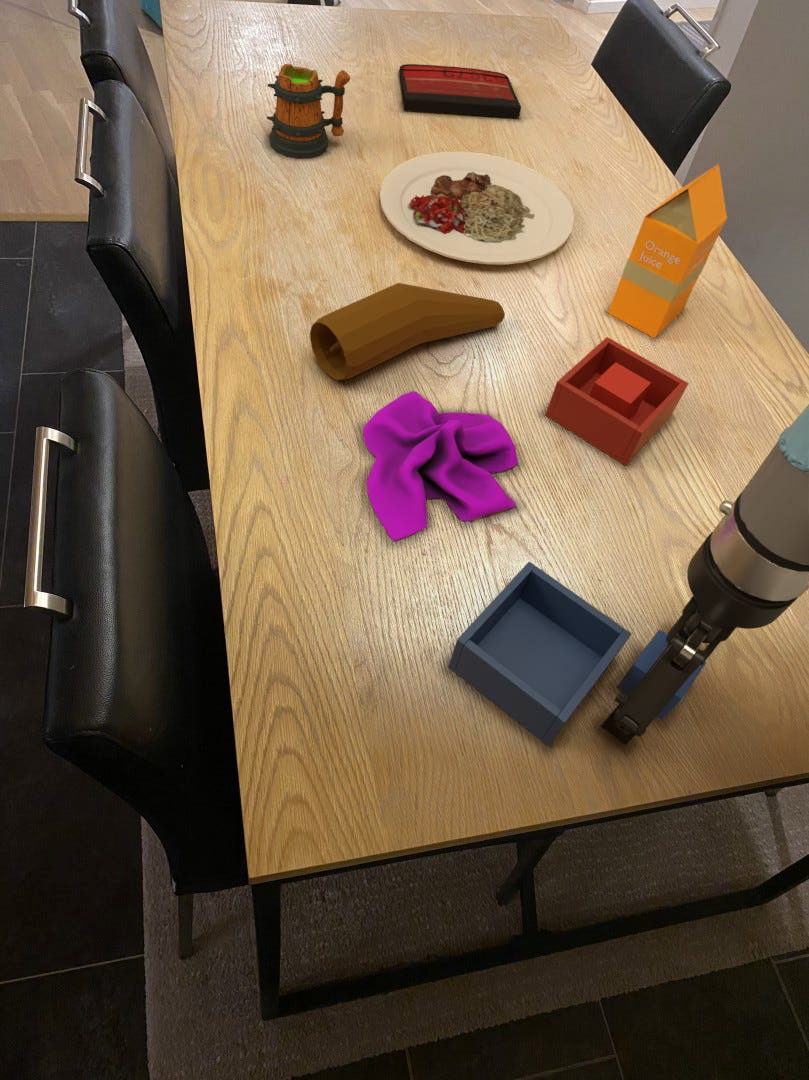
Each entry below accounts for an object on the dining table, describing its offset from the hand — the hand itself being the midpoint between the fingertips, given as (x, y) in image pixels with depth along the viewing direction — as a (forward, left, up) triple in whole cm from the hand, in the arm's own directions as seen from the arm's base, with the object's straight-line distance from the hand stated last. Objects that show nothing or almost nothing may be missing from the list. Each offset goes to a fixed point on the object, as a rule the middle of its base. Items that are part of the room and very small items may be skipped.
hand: (649, 683), depth 73 cm
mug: (+91, -47, 0) cm, 102 cm away
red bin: (+22, -29, 0) cm, 36 cm away
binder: (+86, -81, 0) cm, 118 cm away
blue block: (0, 0, 0) cm, 0 cm away
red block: (+22, -29, 0) cm, 36 cm away
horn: (+48, -21, 0) cm, 52 cm away
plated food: (+60, -52, 0) cm, 79 cm away
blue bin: (+10, +6, 0) cm, 11 cm away
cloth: (+32, -7, 0) cm, 33 cm away
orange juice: (+29, -51, 0) cm, 59 cm away
